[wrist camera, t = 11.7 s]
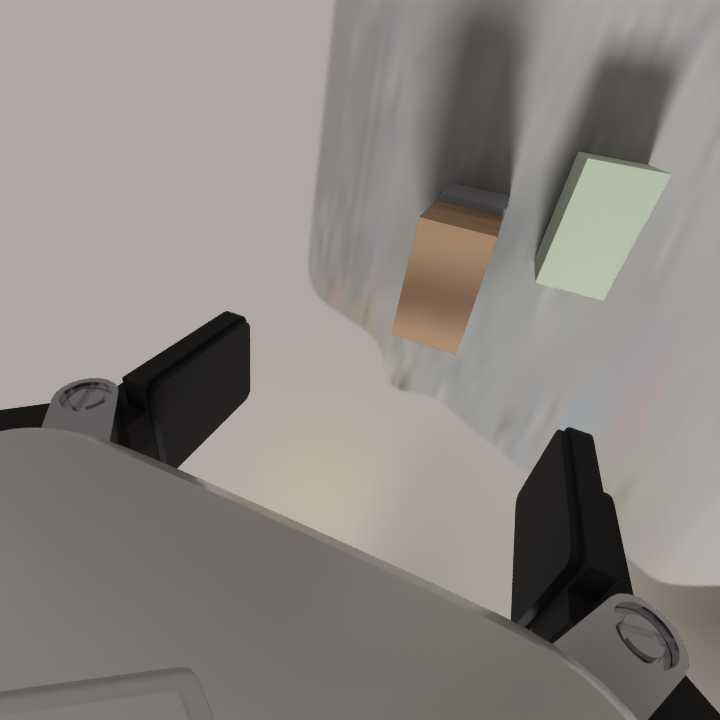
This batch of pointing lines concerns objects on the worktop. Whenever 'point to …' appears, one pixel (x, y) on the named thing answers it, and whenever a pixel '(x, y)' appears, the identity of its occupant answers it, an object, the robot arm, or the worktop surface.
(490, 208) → the charcoal brick
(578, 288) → the sage brick
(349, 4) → the worktop surface
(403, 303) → the walnut brick
